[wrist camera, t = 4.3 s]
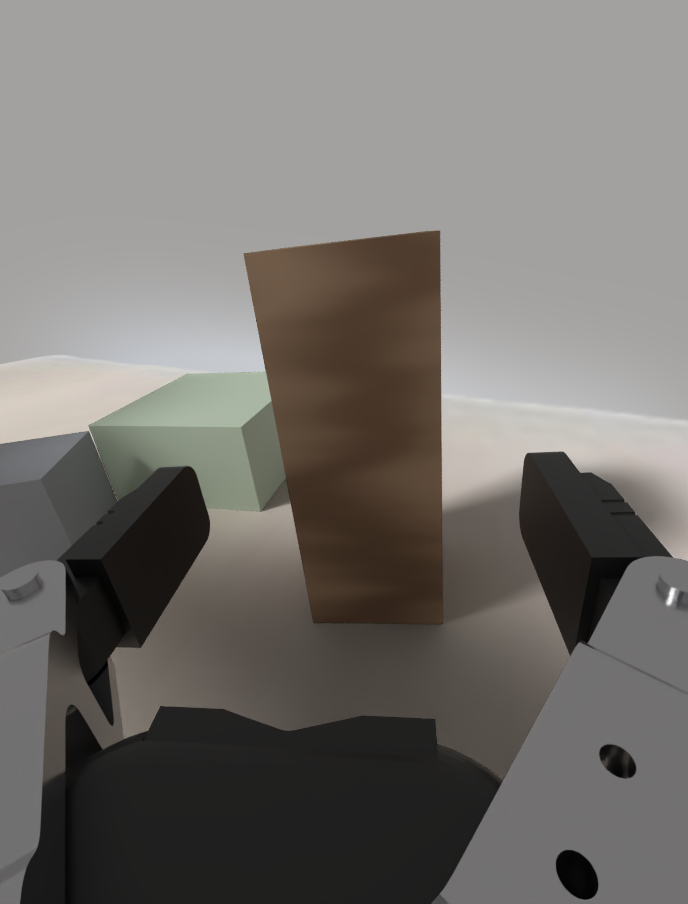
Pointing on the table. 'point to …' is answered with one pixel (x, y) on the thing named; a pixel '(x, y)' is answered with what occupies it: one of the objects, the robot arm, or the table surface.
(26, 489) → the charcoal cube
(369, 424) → the walnut post
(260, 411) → the sage block
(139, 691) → the table surface
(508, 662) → the table surface
